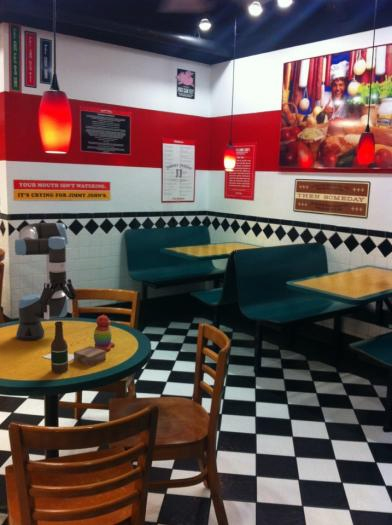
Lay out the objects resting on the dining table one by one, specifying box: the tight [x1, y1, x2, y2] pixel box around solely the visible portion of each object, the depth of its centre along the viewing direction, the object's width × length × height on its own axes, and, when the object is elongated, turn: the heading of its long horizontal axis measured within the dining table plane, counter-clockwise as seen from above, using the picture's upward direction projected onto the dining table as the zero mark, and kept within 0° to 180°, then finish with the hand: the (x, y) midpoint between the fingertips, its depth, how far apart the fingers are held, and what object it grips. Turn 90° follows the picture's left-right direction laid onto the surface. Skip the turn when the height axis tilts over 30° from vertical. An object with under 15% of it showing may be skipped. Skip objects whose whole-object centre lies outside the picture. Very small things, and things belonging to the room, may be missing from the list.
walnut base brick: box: [73, 345, 107, 368], centre depth 254 cm, size 11×11×5 cm
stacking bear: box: [93, 314, 116, 353], centre depth 271 cm, size 11×10×18 cm
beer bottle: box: [50, 320, 69, 375], centre depth 238 cm, size 8×8×24 cm
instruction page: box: [42, 352, 74, 363], centre depth 258 cm, size 15×10×1 cm, turn 66°
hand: (58, 315), depth 235 cm, fingers open, 13 cm apart
